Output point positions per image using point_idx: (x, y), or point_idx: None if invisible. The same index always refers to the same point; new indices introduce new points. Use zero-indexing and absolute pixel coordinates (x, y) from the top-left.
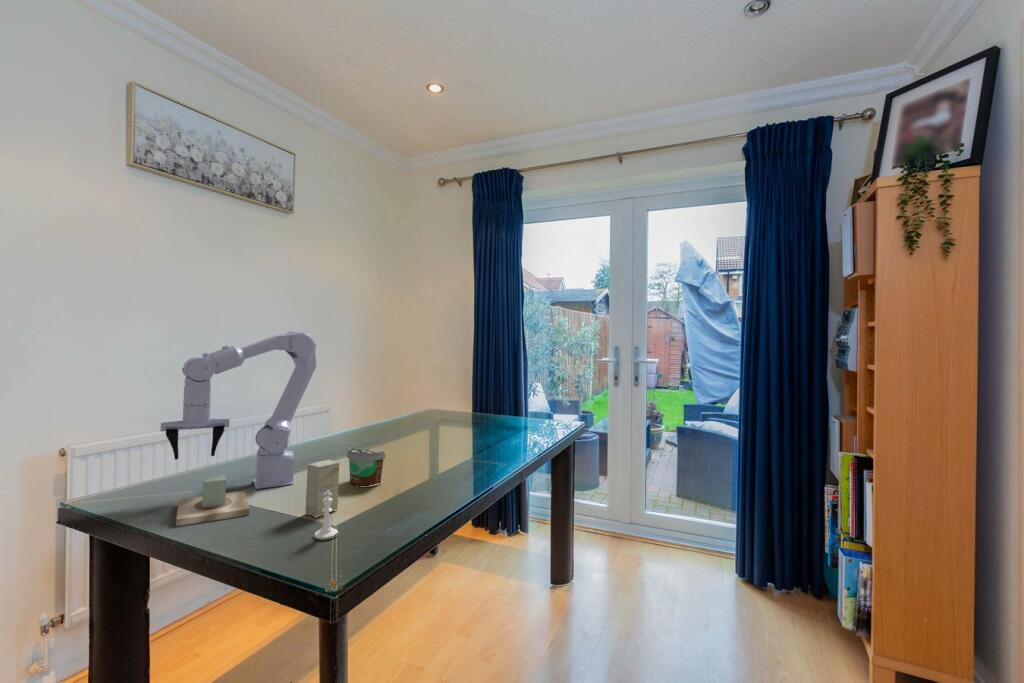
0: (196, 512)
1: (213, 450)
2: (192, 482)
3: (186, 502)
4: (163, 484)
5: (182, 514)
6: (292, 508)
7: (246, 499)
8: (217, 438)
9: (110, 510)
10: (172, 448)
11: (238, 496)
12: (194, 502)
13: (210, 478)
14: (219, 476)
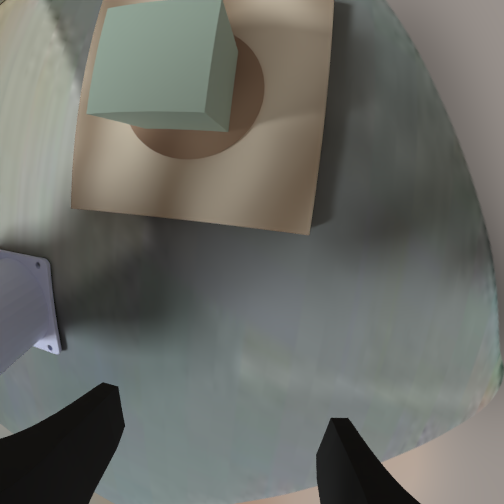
0: (264, 23)
1: (85, 404)
2: (231, 443)
3: (286, 168)
4: (305, 458)
5: (313, 30)
6: (20, 28)
7: (82, 90)
8: (4, 451)
9: (470, 300)
10: (391, 476)
11: (96, 140)
12: (257, 148)
13: (170, 56)
14: (118, 82)
